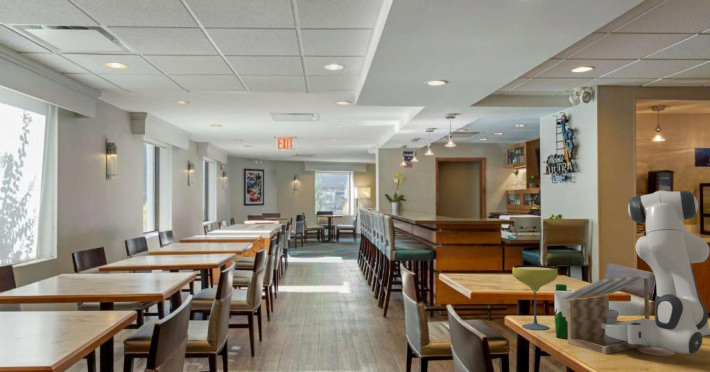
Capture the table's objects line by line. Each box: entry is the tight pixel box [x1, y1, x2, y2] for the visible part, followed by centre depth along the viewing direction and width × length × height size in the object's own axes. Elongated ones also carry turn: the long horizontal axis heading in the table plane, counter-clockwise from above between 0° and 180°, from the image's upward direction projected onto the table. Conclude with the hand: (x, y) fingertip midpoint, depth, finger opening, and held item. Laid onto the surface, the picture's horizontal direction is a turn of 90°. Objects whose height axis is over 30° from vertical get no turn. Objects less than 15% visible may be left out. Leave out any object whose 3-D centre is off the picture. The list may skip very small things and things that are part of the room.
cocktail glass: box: [512, 264, 559, 331], centre depth 214 cm, size 18×18×25 cm
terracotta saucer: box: [637, 345, 675, 357], centre depth 176 cm, size 11×11×1 cm
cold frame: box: [563, 274, 650, 355], centre depth 186 cm, size 28×16×25 cm, turn 118°
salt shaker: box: [602, 309, 623, 346], centre depth 184 cm, size 6×6×13 cm
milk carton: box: [554, 283, 581, 340], centre depth 197 cm, size 9×9×20 cm
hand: (609, 324), depth 185 cm, fingers open, 7 cm apart
